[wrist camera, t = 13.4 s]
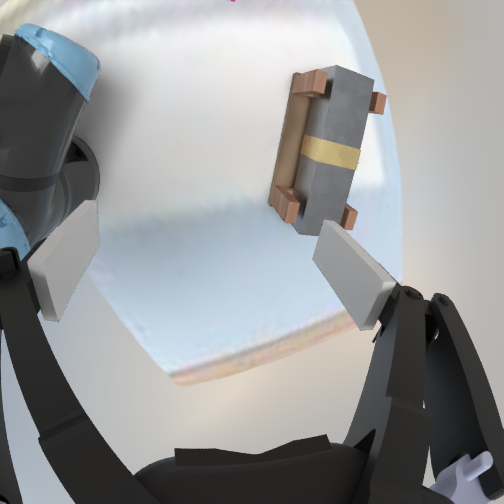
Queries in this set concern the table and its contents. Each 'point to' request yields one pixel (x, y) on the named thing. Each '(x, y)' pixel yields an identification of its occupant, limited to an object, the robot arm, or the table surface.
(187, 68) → the table surface
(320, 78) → the stove stand
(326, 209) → the grey metal bar
